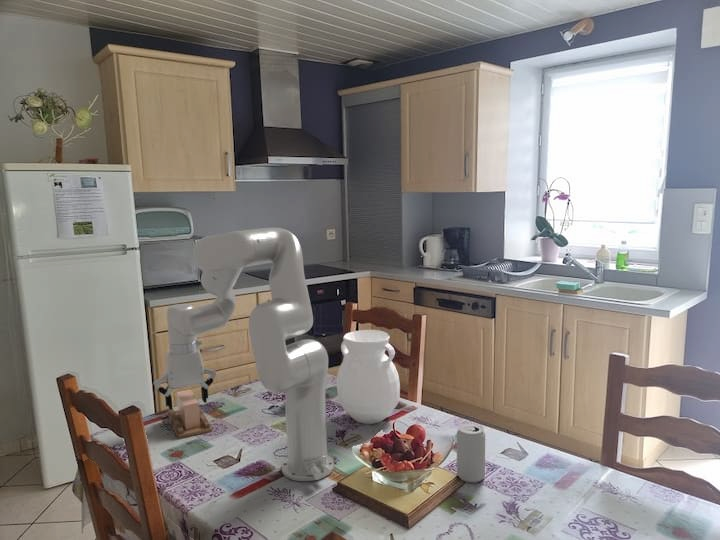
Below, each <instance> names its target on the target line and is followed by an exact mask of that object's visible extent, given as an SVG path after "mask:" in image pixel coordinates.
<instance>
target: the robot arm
mask: <svg viewBox="0 0 720 540" xmlns="http://www.w3.org/2000/svg"><path fill="white" fill-rule="evenodd" d="M192 254H193V255H192V256H193V257H192V258H193V261H194V262H193V263H194V264H195V265H196V267H197V268H198V269H199V270H201V271H203V273H202V274H201V278H200V284H201V286H202V288H204V290H205V291H206V292H208V293H209V294H211V295H212V296H215V299H214V300H213V302H212V303H210V304H205V305H199V306H195V307H194V306H193V305H192V304H188V303H177V304H173V305H170V306H169V307H167V310H166V320H167V332H168V345H169V347H168V348H169V352H167V353H166V358H165V374H163V375H162V376H160V377H159V378H157V379H156V380H155V381H153V385H154V387H155V388H156V389H157V390H158V392H159V393H161V394H162V395H164V398H165V407H168V410H169V409H170V410H171V409H172V408H173V399H172V395H171V394H172V392H173V391H174V390H177V389H181V388H187V387H192V386H197V385H201V388H200V390H201V400H202V401H203V403H207V401H208V400H207V399H209V390H208V389H209V387H210V386H211V385H212V383H213V382H214V379H215V377H216V375H217V372H216V370H213V369H209V368H206V367H204V363H203V358H202V354H201V350H200V349H199V347H200V346H203V341H202V340H200V341H199V340H197V336H199V335H202V334H207V333H209V332H212V331H216V330H217V331H218V330H220V329H223V328H224V326H226V325H227V324H228V322H229V320H230V319H231V317H232V315H233V313H234V311H235V310H236V302H237V301H236V294H235V290H234V289H233V288H234V286H235V284H236V283H237V280H238V279H239V277H240V275H241V273H242V270H243V269H244V268H247V267H254V266H258V265H264V264H272V266H271V269H270V272H269V277H268V284H269V290H270V295H271V300H268V301H267V300H266V301H263V302H261V303H259V304H258V305H256V306H255V307H253V308H252V311H250V315H249V318H248V333H249V337H250V343H251V347H252V351H253V353H252V354H253V357H254V360H255V361H254V362H255V366H256V372H257V374H258V377H259V380H260V382H261V385H262V386H263V387H264V389H265V390H267V391H268V392H270V393H272V394H282V393H285V399H284V401H285V403H284V404H285V409H284V410H285V424H286V425H285V429H286V431H285V432H286V445H287V446H286V447H287V450H286V451H287V452H286V453H287V458H285V459H284V460H283V461H282V464H281V473H282V475H284V477H286V478H287V479H289V480H292V481H296V482H313V481H318V480H321V479H323V478H325V477H327V476H328V475H330V474H331V473H332V472H333V471H334V468H335V461H334V459H333V458H332V456H330V455H328V439H327V437H328V436H327V411H326V410H327V408H326V407H327V406H326V405H327V404H326V387H327V386H326V385H327V376H328V371H329V370H328V369H329V355H328V351H327V350H326V348H325V346H324V345H323V344H322V343H321V342H320V341H318V340H315V339H301V340H298V341H296V342H292V343H288V344H287V345H286V341H287V340H289V339H293V338H296V337H298V336H301V335H303V334H305V333H308V332H309V331H310V330H311V328H312V327H313V324H314V315H313V309H312V304H311V300H310V294H309V290H308V285H307V284H308V283H307V281H306V276H305V269H304V259H303V258H304V257H303V249H302V246H301V243H300V241H299V240H298V237H296V235H294V234H293V232H291V230H290V231H289V230H287V229H286V228H285V229H284V228H281V227H263V228H255V229H254V228H253V229H245V230H244V229H243V230H234V231H228V232H223V233H218V234H214V235H207V236H203V237H202V238H200V239H199V240H198V241H197V242H196V244H195V245H194V247H193V252H192ZM205 374H207V375H209V377H208V378H207V379H206V381H205ZM164 382H166V385H167V386H166V387H165V388H164V387H163V386H162V385H161V384H162V383H164Z"/></svg>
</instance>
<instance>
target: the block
mask: <svg viewBox="0 0 720 540" xmlns="http://www.w3.org/2000/svg"><path fill="white" fill-rule="evenodd" d="M176 397H177V411H178V414H179V416H180V418H181V420H182V422H183V424H184V427H185V429H190V428H194V427H199V426H200V413H199V407H200V403H199V401H198V399H197V397H196V396H195V394H194V393H193V391H192V389H186V390H181V391H176Z"/></svg>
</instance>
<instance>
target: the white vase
mask: <svg viewBox="0 0 720 540" xmlns="http://www.w3.org/2000/svg"><path fill="white" fill-rule="evenodd" d="M342 339H343V341H342V342H341V345H340V350H341V352H342V353H341V354H342V355H343V360H342V362H341V363H340V366H339V367H338V370H337V375H336V390H337V397H338V399H339V402H340V405H341V408H342V409H343V410H344V412H346V414H347V415H349V416H350V417H351V418H352V419H353V420H355V421H356V422H357V423H360V424H367V425H369V424H370V425H372V424H377V423H380V422H382V421H384V420H385V419H386V418H387V417H389V415H391V413H393V411H394V410H395V408H396V407H397V406H398V404H399V401H400V397H401V396H400V395H401V393H400V392H401V384H400V383H401V382H400V376H399V373H398V370H397V368H396V365H395V363H394V362H393V359H394V358H395V354H396V351H395V348H394V347H393V346H392V345H391V344H390V343H389V341H390V335H389V333H387V332H386V331H383V330H381V329H380V330H379V329H362V330H361V329H359V330H355V331H354V330H353V331H351V332H347V333H345V334H344V336H343V337H342ZM386 351H387V353H388V355H387V354H386Z"/></svg>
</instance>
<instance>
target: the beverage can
mask: <svg viewBox="0 0 720 540" xmlns="http://www.w3.org/2000/svg"><path fill="white" fill-rule="evenodd" d="M484 430H485V429H484V427H483V426H482V425H480V424H478V423H473V422H471V423H469V422H467V423H462V424H460V425H459V426H458V430H457V431H456V475H457V477H458V476H459V477H460V478H459V479H460V480H462V481H464V482H465V483H471V484H474V483H479V482H481V481H483V479H484V478H485V477H486V433H485V431H484Z"/></svg>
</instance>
